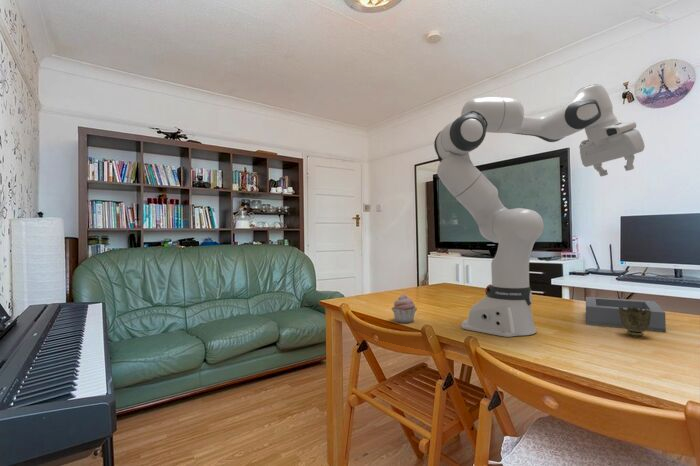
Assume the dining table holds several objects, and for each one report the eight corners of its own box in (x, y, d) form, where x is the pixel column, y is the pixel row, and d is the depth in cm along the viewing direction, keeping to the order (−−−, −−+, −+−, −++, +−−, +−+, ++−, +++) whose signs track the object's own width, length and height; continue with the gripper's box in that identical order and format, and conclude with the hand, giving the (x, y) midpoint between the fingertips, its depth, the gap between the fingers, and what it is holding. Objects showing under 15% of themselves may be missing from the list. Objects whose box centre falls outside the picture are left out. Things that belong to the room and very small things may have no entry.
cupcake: (409, 325, 120) (408, 297, 120) (386, 322, 126) (386, 294, 126) (422, 320, 127) (421, 293, 127) (400, 317, 134) (400, 291, 134)
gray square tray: (586, 324, 117) (585, 306, 117) (586, 312, 133) (585, 296, 133) (665, 332, 105) (665, 312, 105) (655, 318, 122) (654, 301, 122)
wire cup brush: (639, 332, 106) (638, 306, 106) (658, 339, 98) (657, 311, 98) (613, 332, 106) (612, 306, 106) (630, 339, 99) (629, 311, 99)
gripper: (571, 145, 124) (583, 181, 125) (623, 125, 104) (638, 169, 105) (585, 139, 125) (597, 176, 126) (640, 120, 105) (655, 163, 105)
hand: (616, 172), depth 115 cm, fingers open, 8 cm apart
